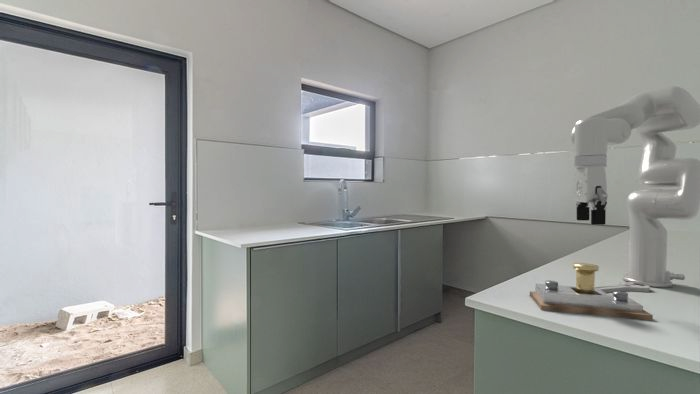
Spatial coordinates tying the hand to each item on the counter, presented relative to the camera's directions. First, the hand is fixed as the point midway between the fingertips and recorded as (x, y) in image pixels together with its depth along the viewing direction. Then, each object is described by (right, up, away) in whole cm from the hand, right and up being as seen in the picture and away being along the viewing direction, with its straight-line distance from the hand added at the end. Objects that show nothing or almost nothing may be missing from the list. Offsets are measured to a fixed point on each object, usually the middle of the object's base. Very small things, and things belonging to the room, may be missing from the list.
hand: (590, 222), depth 94 cm
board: (-6, -22, -6) cm, 24 cm away
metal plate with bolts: (-6, -21, -6) cm, 23 cm away
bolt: (-6, -21, -6) cm, 23 cm away
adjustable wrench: (+13, -23, +9) cm, 28 cm away
